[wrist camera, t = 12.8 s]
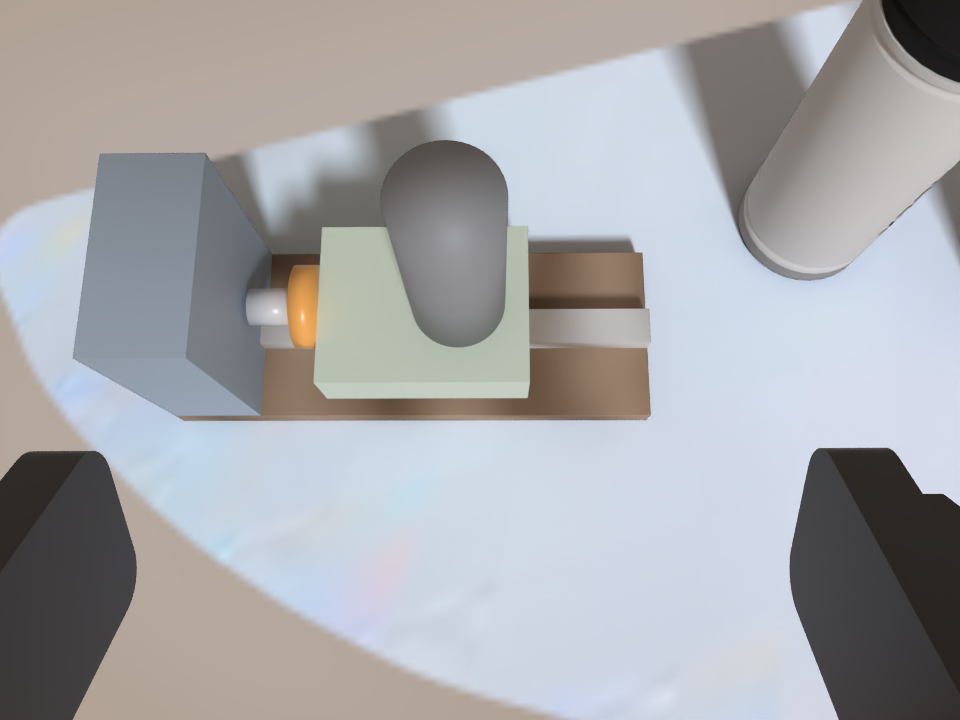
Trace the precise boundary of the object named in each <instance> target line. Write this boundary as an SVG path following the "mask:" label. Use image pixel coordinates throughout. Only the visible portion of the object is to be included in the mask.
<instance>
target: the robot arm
mask: <svg viewBox="0 0 960 720" xmlns="http://www.w3.org/2000/svg"><path fill="white" fill-rule="evenodd" d="M136 569H137V566H136V555H135V551H134V547H133V544H132V540H131V537H130V534H129V530H128V527H127V524H126V521H125V518H124V514H123V511H122V507H121V504H120V501H119V498H118V494H117V491H116V488H115V484H114V481H113V478H112V475H111V471H110V468H109V465H108V463H107V461H106V459H105V458H104V457H103V455H102V454H100V453H99V452H96V451H37V452H36V451H33V452H27V453H25V454H23V455H22V456H21V457H20V458H19V459H18V460H17V461H16V462H15V463H14V465H13V466H12V467H11V468H10V469H9V471H8V472H7V473H6V474H5V476H4V477H3V478H2V479H1V481H0V720H73V718H74V716H75V713H76V712H77V710H78V708H79V706H80V703H81V702H82V699H83V698H84V696H85V694H86V691H87V690H88V688H89V686H90V684H91V682H92V679H93V678H94V676H95V674H96V672H97V670H98V668H99V666H100V663H101V661H102V660H103V658H104V656H105V654H106V652H107V650H108V648H109V646H110V644H111V641H112V640H113V638H114V636H115V634H116V632H117V630H118V628H119V626H120V624H121V622H122V620H123V618H124V616H125V614H126V612H127V610H128V608H129V605H130V603H131V600H132V597H133V593H134V589H135V583H136ZM790 583H791V590H792V595H793V600H794V604H795V607H796V610H797V613H798V615H799V618H800V620H801V623H802V626H803V628H804V631H805V633H806V636H807V639H808V641H809V644H810V646H811V649H812V651H813V654H814V657H815V659H816V662H817V664H818V667H819V670H820V672H821V675H822V677H823V680H824V682H825V685H826V688H827V690H828V693H829V695H830V698H831V701H832V703H833V706H834V708H835V711H836V713H837V716H838V719H839V720H960V506H959V505H957V504H956V503H955V502H953V501H952V500H951V499H949V498H948V497H947V496H945V495H944V494H922V492H921V491H920V489H919V487H918V486H917V484H916V483H915V481H914V480H913V478H912V477H911V475H910V474H909V472H908V471H907V469H906V468H905V466H904V465H903V463H902V462H901V460H900V459H899V457H898V456H897V454H896V453H895V452H894V451H893V450H891V449H889V448H819V449H817V450H816V451H815V452H814V453H813V455H812V456H811V459H810V462H809V466H808V470H807V475H806V480H805V485H804V490H803V495H802V499H801V504H800V509H799V514H798V519H797V524H796V528H795V533H794V538H793V543H792V548H791V554H790Z"/></svg>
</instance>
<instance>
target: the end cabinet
mask: <svg viewBox="0 0 960 720" xmlns="http://www.w3.org/2000/svg"><path fill="white" fill-rule="evenodd" d="M271 266H272V253H271V252H270V250H269V249H268V247H267V246H266V244H265V243H264V241H263V240H262V238H261V237H260V235H259V234H258V232H257V231H256V229H255V228H254V226H253V225H252V223H251V222H250V220H249V219H248V217H247V216H246V214H245V212H244V211H243V209H242V208H241V206H240V205H239V203H238V202H237V200H236V199H235V197H234V196H233V194H232V193H231V191H230V190H229V188H228V187H227V185H226V184H225V182H224V181H223V179H222V178H221V176H220V175H219V173H218V172H217V170H216V169H215V167H214V165H213V164H212V162H211V161H210V159H209V158H208V156H207V155H206V153H133V154H131V153H130V154H100V156H99V163H98V171H97V178H96V186H95V193H94V201H93V209H92V216H91V224H90V231H89V239H88V246H87V254H86V262H85V269H84V277H83V284H82V292H81V299H80V307H79V315H78V322H77V330H76V337H75V345H74V352H73V359H75V360H77V361H78V362H80V363H82V364H84V365H86V366H87V367H89V368H91V369H93V370H94V371H96V372H98V373H100V374H102V375H103V376H105V377H107V378H109V379H111V380H112V381H114V382H116V383H118V384H120V385H121V386H123V387H125V388H127V389H128V390H130V391H132V392H134V393H136V394H137V395H139V396H141V397H143V398H145V399H146V400H148V401H150V402H152V403H154V404H155V405H157V406H159V407H161V408H162V409H164V410H166V411H168V412H170V413H171V414H173V415H175V416H238V415H261V407H262V393H263V379H264V365H265V351H266V349H265V348H264V347H263V346H262V345H261V344H260V336H261V326H251V325H250V324H249V322H248V320H247V315H246V297H247V293H248V290H249V289H267V288H270V280H271Z"/></svg>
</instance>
